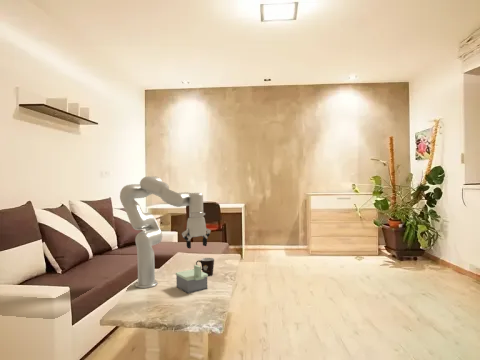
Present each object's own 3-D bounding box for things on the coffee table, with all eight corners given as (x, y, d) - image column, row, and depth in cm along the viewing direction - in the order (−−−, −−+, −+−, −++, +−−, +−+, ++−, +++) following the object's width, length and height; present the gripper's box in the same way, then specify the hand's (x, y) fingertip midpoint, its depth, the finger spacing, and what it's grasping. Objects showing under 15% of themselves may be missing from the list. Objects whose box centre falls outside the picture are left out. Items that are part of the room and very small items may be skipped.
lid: (175, 276, 187) (175, 262, 187) (195, 272, 195) (195, 259, 195) (189, 283, 174) (189, 269, 174) (210, 279, 181) (210, 265, 181)
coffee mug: (217, 274, 211) (217, 259, 211) (207, 277, 204) (206, 261, 204) (205, 271, 219) (205, 256, 219) (195, 274, 212) (194, 258, 212)
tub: (176, 287, 187) (176, 274, 187) (195, 282, 194) (195, 271, 194) (188, 293, 176) (187, 280, 176) (207, 288, 183) (207, 276, 183)
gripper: (206, 213, 187) (207, 243, 187) (178, 216, 177) (179, 248, 177) (213, 214, 181) (214, 245, 181) (185, 217, 171) (185, 250, 171)
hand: (196, 246), depth 179 cm, fingers open, 9 cm apart
